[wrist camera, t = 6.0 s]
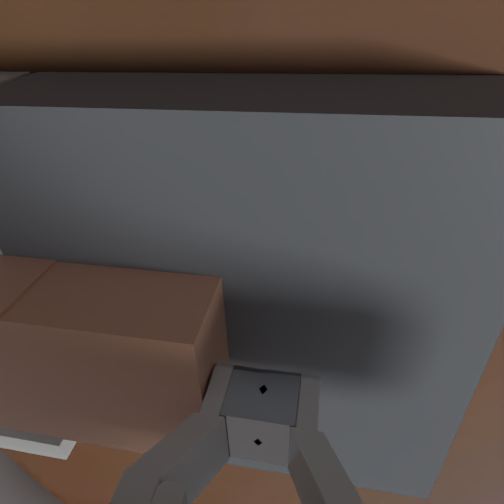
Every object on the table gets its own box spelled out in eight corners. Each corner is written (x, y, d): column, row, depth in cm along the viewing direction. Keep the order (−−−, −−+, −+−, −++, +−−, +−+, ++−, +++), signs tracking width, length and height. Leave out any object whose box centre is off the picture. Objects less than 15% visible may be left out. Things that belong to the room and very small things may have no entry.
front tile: (56, 261, 12) (-3, 320, 10) (221, 277, 11) (193, 344, 9) (97, 374, 15) (58, 438, 13) (232, 393, 14) (212, 465, 12)
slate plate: (38, 71, 13) (-65, 104, 10) (517, 75, 11) (593, 120, 7) (126, 366, 21) (85, 438, 18) (413, 406, 18) (427, 499, 15)
